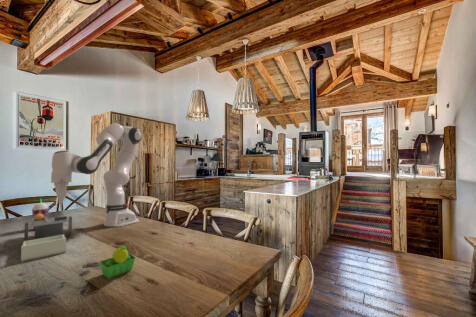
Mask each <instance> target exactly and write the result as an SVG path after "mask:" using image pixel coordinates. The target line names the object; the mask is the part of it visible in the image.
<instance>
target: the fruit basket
mask: <svg viewBox="0 0 476 317" xmlns="http://www.w3.org/2000/svg"><path fill="white" fill-rule="evenodd" d="M135 260H136V257H135V256H134V255H132V254H131V253H129V251H128V249H127V247H126V246H125V245H121V246H119V247H118V248H117V249H116V250H115V251H114V252H113V253H112V257H111V258H110V257H109V258H107V259H105V260H100V261H99V262H98V263H99V265H100V267H101V272H102V274H103V275H104V277H106V278H107V279H111V278H113V277H116V276H118V275H122V274H124V273H126V272H130V271H132V269H133V266H134V263H135Z"/></svg>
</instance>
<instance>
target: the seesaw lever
mask: <svg viewBox="0 0 476 317" xmlns="http://www.w3.org/2000/svg"><path fill="white" fill-rule="evenodd" d="M62 222H63V223H69V217H67V215H66V216H64V215H63V216H55V217H54V218H48V219H47V218H46V215H45V216H44V218H43V219H42V220H39V221H38V220H36V219H35V217H33V216H32V217H31V220H30V222H29V223H28V228H33V227H34V226H41V225H48V224H55V223H62Z"/></svg>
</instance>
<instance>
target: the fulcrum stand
mask: <svg viewBox="0 0 476 317" xmlns="http://www.w3.org/2000/svg"><path fill="white" fill-rule="evenodd" d="M68 219H69V222H68V224H67V227H68V230H67V232H68V233H67V235H68V236H69V237H70V236H72V235H73V234H72V230H73V229H72V228H73V216H71V215H70V216H68ZM29 224H30V222H29V221H26V222H24V234H23V236H24V241H29ZM63 234H64V222H62V223H55V224H48V225H41V226H35V230H34V239H40V238H46V237H52V236H57V235H63ZM24 241H23V242H24Z"/></svg>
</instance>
